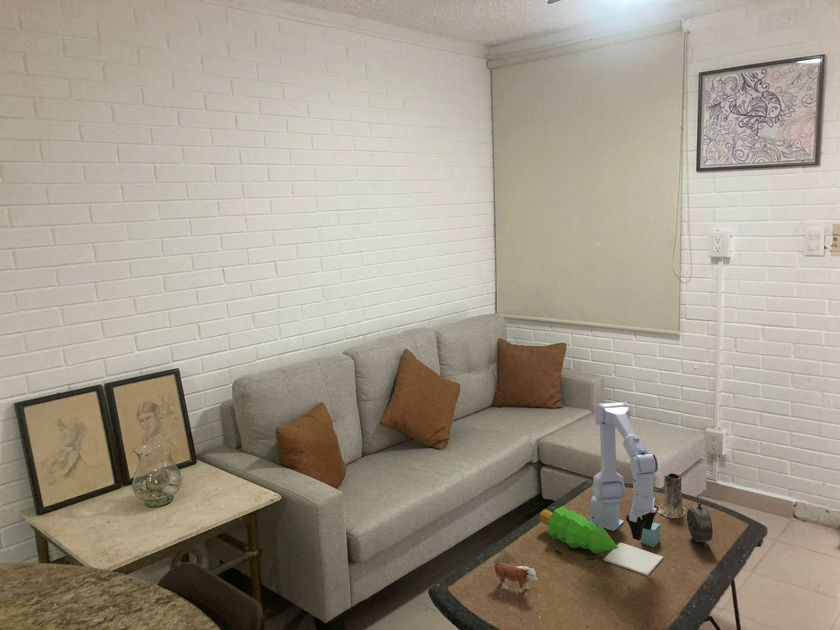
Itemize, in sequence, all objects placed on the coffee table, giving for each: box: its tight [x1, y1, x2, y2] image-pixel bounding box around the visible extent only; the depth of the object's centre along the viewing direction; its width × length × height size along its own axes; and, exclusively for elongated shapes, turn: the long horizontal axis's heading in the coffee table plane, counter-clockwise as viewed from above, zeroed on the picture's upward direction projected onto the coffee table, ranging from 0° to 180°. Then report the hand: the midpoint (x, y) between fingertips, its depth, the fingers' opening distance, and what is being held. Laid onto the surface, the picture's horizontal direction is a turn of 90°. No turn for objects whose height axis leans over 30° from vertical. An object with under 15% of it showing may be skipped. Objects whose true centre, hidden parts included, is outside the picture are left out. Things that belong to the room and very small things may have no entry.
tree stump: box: [657, 473, 688, 519], centre depth 235 cm, size 10×10×13 cm
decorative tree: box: [539, 505, 618, 554], centre depth 214 cm, size 11×12×30 cm
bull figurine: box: [494, 562, 538, 594], centre depth 194 cm, size 4×13×8 cm, turn 58°
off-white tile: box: [603, 542, 664, 577], centre depth 207 cm, size 14×12×1 cm
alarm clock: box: [686, 494, 714, 550], centre depth 214 cm, size 11×5×16 cm, turn 178°
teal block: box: [640, 521, 661, 548], centre depth 216 cm, size 4×4×6 cm
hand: (641, 534), depth 202 cm, fingers open, 7 cm apart
